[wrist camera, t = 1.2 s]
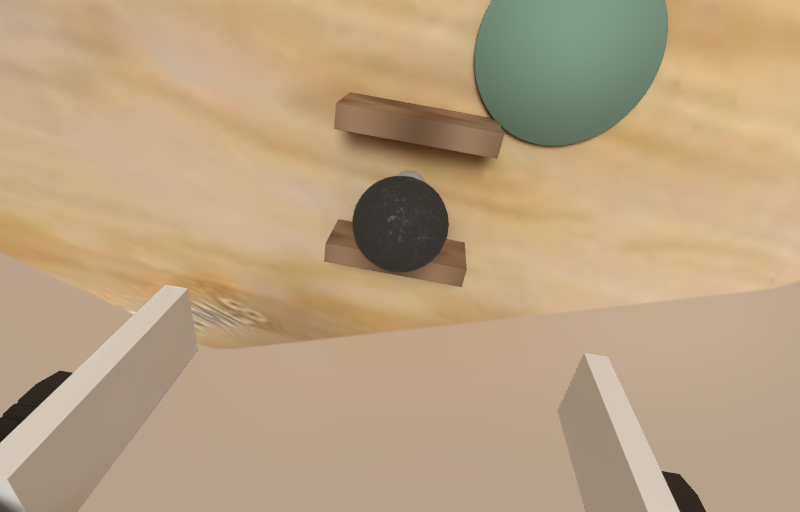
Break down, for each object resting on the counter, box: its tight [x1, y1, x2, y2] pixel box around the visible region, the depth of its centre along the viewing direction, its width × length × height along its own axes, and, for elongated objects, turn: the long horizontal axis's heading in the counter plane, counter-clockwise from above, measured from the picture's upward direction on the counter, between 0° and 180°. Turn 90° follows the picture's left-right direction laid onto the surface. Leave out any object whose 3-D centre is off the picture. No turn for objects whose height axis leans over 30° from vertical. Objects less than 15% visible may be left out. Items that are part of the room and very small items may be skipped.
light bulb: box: [353, 171, 449, 272], centre depth 27 cm, size 6×6×10 cm
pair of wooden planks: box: [324, 93, 504, 287], centre depth 29 cm, size 10×11×4 cm
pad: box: [474, 0, 668, 146], centre depth 26 cm, size 11×11×1 cm
